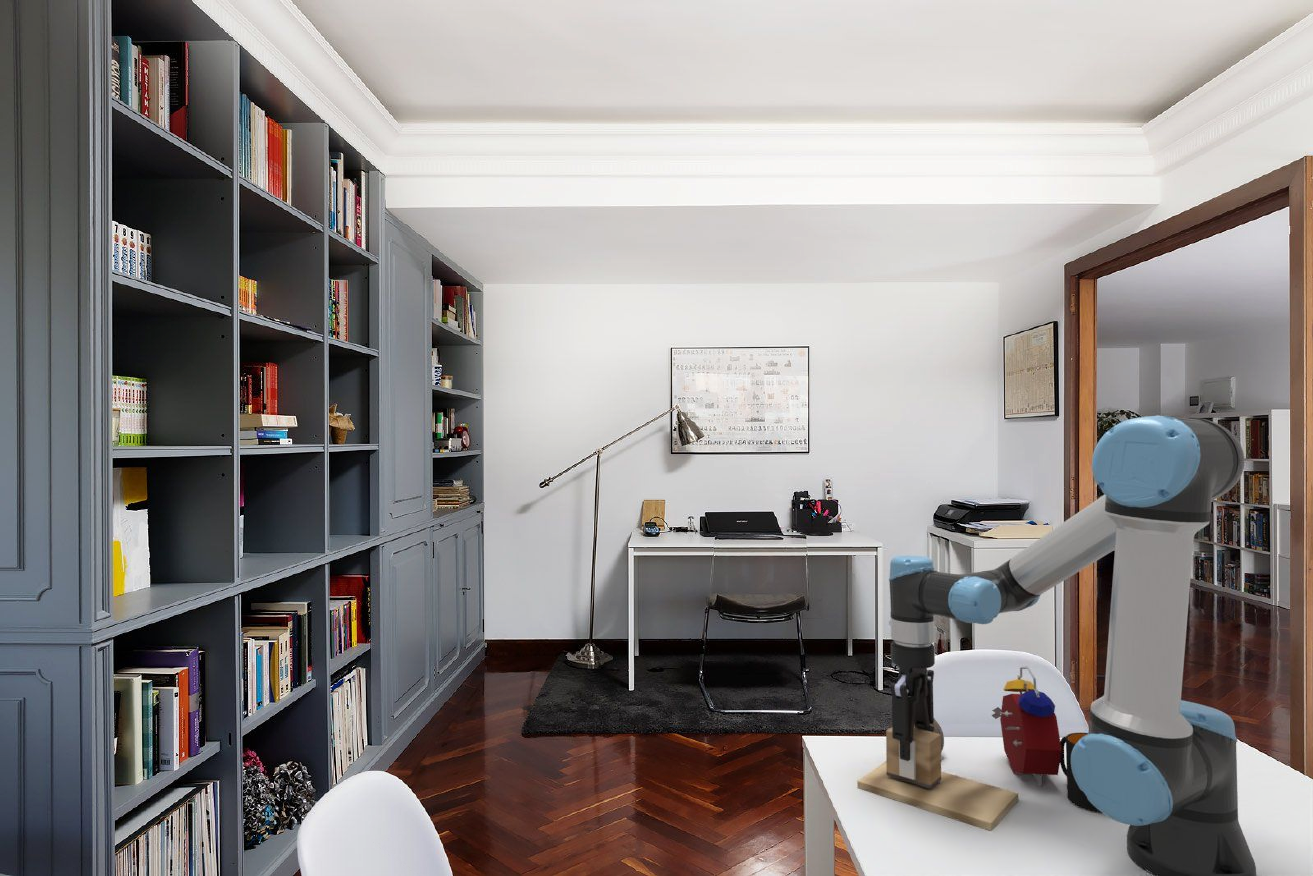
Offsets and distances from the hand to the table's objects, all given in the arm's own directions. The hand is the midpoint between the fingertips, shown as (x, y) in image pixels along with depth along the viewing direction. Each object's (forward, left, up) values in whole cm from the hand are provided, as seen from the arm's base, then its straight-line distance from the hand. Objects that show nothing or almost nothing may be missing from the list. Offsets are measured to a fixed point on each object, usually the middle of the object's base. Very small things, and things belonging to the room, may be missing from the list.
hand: (914, 771), depth 131 cm
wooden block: (0, 0, -1) cm, 1 cm away
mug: (-24, -16, -3) cm, 29 cm away
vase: (+4, -15, -3) cm, 16 cm away
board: (-4, 0, -3) cm, 5 cm away
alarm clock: (-13, -19, -3) cm, 23 cm away
